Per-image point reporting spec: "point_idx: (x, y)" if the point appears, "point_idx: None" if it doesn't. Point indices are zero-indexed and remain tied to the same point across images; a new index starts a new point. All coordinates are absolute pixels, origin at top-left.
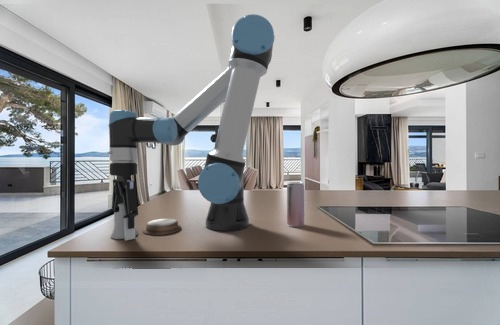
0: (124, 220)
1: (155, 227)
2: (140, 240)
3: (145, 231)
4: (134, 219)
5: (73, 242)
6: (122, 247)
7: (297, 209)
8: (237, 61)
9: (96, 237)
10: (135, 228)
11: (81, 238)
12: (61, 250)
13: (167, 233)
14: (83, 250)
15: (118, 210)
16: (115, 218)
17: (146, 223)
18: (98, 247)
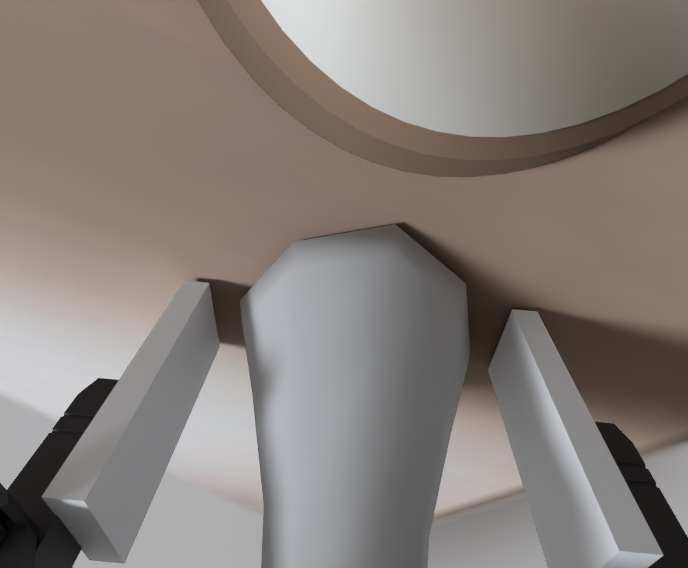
0: (548, 559)
1: (669, 95)
2: (616, 294)
3: (442, 158)
4: (630, 506)
5: (256, 497)
6: (617, 419)
7: None
8: None
9: (230, 427)
10: (403, 292)
11: (195, 466)
12: None
13: None
14: (447, 508)
15: (58, 560)
16: (159, 475)
17: (316, 100)
18: (467, 472)
